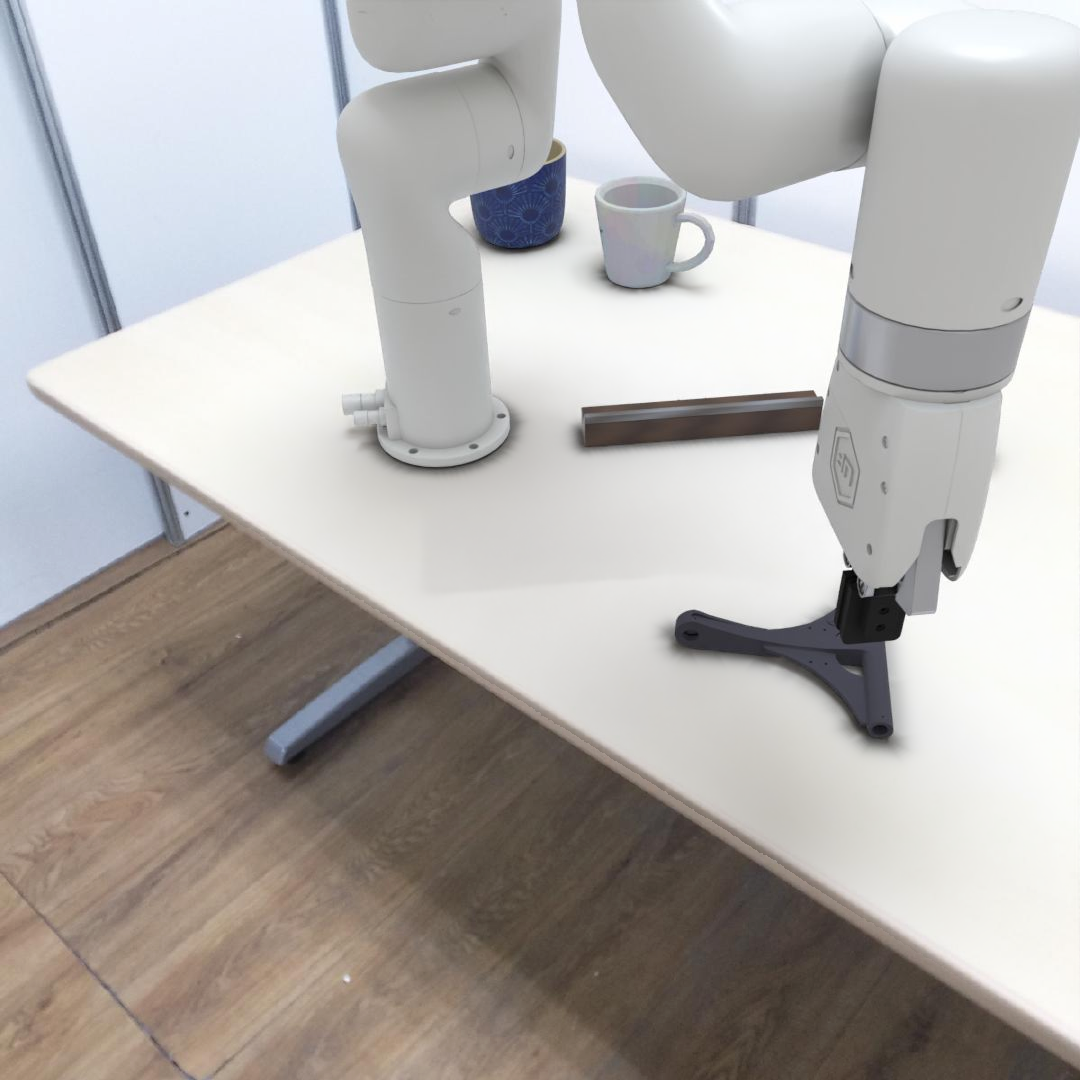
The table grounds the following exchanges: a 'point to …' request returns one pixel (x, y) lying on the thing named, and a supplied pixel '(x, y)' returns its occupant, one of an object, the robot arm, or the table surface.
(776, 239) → the table surface
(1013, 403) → the table surface
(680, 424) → the holder rail
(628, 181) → the mug
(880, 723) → the bracket
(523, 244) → the planter
